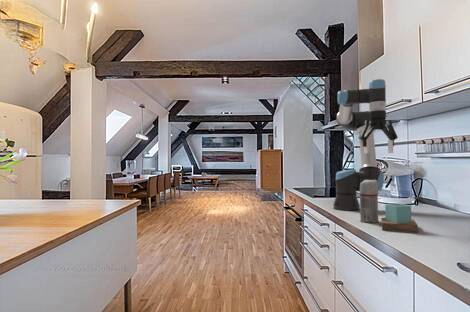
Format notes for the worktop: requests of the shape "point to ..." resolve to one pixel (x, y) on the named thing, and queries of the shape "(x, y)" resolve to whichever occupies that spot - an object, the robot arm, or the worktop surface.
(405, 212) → the teal shadow box frame
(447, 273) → the worktop surface
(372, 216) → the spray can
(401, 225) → the brown square board
